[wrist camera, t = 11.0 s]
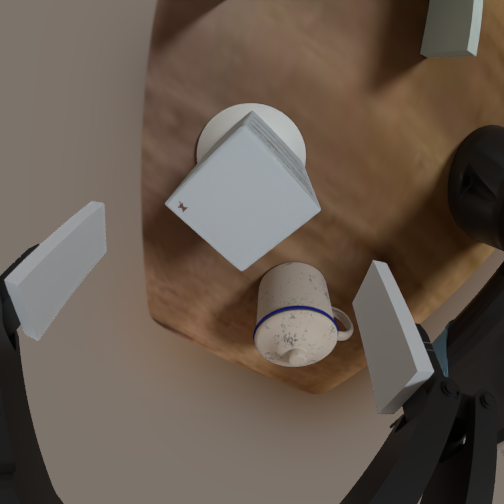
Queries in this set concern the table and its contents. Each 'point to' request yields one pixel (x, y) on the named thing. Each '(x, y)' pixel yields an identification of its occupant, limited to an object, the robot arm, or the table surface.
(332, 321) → the teacup with lid
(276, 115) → the coaster
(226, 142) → the supplement box
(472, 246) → the table surface
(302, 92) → the table surface
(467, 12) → the three-sided green enclosure
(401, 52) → the table surface
